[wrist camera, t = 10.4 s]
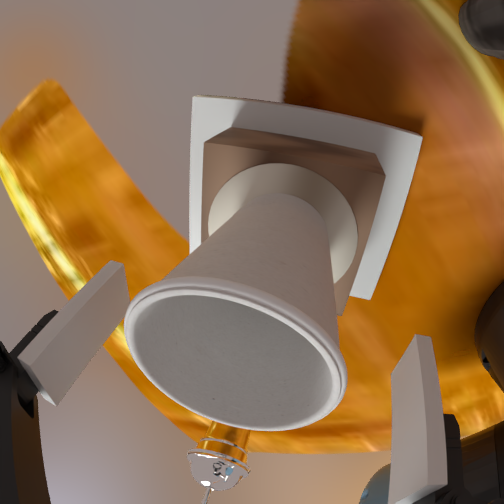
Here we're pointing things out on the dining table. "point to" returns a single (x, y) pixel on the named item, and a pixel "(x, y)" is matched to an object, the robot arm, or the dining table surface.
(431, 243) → the dining table surface
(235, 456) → the cup with straw
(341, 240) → the brown block
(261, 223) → the dixie cup
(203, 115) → the board
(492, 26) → the beverage cup
